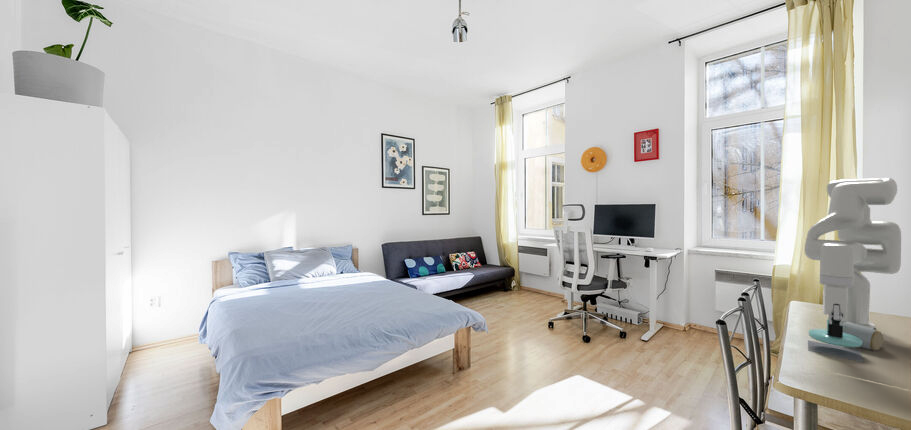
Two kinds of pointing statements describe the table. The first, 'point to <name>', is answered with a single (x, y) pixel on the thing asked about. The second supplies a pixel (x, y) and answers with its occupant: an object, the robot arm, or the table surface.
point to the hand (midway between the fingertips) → (834, 333)
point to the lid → (835, 338)
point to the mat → (835, 351)
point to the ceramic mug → (864, 335)
